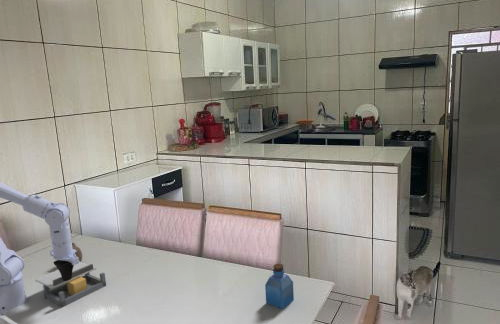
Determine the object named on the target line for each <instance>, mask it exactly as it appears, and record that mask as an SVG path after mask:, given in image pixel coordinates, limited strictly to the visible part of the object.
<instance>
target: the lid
mask: <svg viewBox="0 0 500 324" xmlns="http://www.w3.org/2000/svg"><path fill="white" fill-rule="evenodd" d="M96 270H97V267H96V266H94V264H92V263H91V264H89V263H88V264H87V263H84V262H82V261H81V262H80V261H79V263H78V264H75V265H74V267H73V271H72V278H71V279H70V280H68V281H64V280H63V278H62V276H61V274H60V272H59V270H58V269H56V270H55V271H51V272H49V273H46V274H45V275H43V276H39V277H38V278H35V282H37V283H39V284H41V285H42V286H43V285H45V286H47V287H49V289H50V290H53V289H55V288H57V287H59V286H62V285H64V284H66V283H67V282H69V281H71V280H73V279H75V278H78V277H82V276H84V275H85V274H87V273H89V272H90V273H91V272H93V271H96Z"/></svg>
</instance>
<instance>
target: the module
mask: <svg viewBox="0 0 500 324" xmlns="http://www.w3.org/2000/svg"><path fill="white" fill-rule="evenodd" d="M66 283H67V287H68V294H70V295H74V294H76V293H78V292H80V291H83V290H85V289H87V284H86V279H85V278H82V276H80V277H78V278H75V279H73V280H71V281H69V282H66Z"/></svg>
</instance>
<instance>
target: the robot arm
mask: <svg viewBox="0 0 500 324" xmlns="http://www.w3.org/2000/svg"><path fill="white" fill-rule="evenodd" d="M0 199H4V200H6V201H8V202H12V203H14V204H17V205H20V206H22V208H23V211H24V212H26V213H29V214H31V215H33V216H36V217H38V218H41V219H43V220H44V221H45V223H46V224H47V226H49V231H50V237H51V238H50V240H51V245H52V249H51V250H49V255H50V256H49V257H52V258H53V260H55V261H53V264H54V266H55V267H56V268H57V270H59V272H60V274H61V276H62V278H63V280H64V281H68V280H70V279H71V278H72V271H73V267H74V265H75V264H78V263H79V257H77V256H76V255H75V253H76V250H75V249H73V248H72V243H73V242H72V236H71V228H70V223H69V219H68V218H69V216H70V214H71V211H70V208H69V206H67V205H66V204H65V203H63V202H58V203H57V202H55V201H51V200H48V199H46V198H44V197H42V195H41V194H39V193H38V194H37V195H36V194H30V195H28V194H25V193H23V192H21V191H19V190H18V189H15V188H13V187H11V186H9V185H7V184H5V183H3V182H1V181H0ZM24 269H25V260H24V259H23V257H21V256H19V255H18V254H17V253H16V251H15V250H12V249H9V248H8V247H7V245H6V244H5V243H4V241H3V239H2V238H1V236H0V316H5V314H4V313H5V312H6V311H9V310H11V309H15V308H17V307H19V306H22V305H24V304H25V303H26V302H27V294H26V289H25V283H24V278H23V272H22V271H23V270H24Z"/></svg>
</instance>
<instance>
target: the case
mask: <svg viewBox="0 0 500 324" xmlns="http://www.w3.org/2000/svg"><path fill="white" fill-rule="evenodd" d="M81 277H82V278H85V279H86V284H87V289H85V290H83V291H80V292H78V293H76V294H74V295H70V294H68V287H67V282H66V283H64V284H62V285H60V286H58V287H55V288H53V289H50V288H49V287H47V286H45V285H43V284H42V286H43V287H42V289H43V294H44V299H46V300H48V301H49V302H51V303H53V304H54V305H57V306H58V307H61V308H64V307H67V306H68V305H71V304H73V303H75V302H76V301H79V300H80V299H83V298H84V297H87V296H89V295H91V294H92V293H94V292H97V291H99V290H101V289H103V288H104V287H106V286H107V280H106V273H105V272H99V277H96V276H94V275H92V274H91V272H89V273H87V274H84V275H82V276H81Z"/></svg>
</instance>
